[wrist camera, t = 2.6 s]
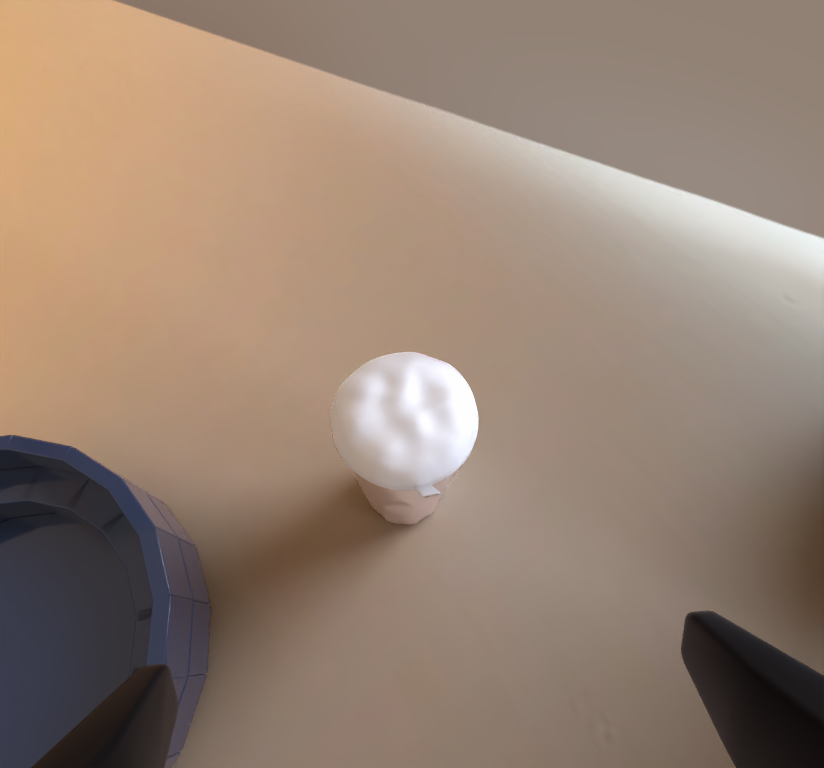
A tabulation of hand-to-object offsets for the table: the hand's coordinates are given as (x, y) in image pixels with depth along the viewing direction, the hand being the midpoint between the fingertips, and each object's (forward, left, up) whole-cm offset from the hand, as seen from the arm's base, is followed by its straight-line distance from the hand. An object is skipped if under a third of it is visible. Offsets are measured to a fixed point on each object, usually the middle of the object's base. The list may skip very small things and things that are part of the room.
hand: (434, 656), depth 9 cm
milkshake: (+5, +3, -13) cm, 14 cm away
